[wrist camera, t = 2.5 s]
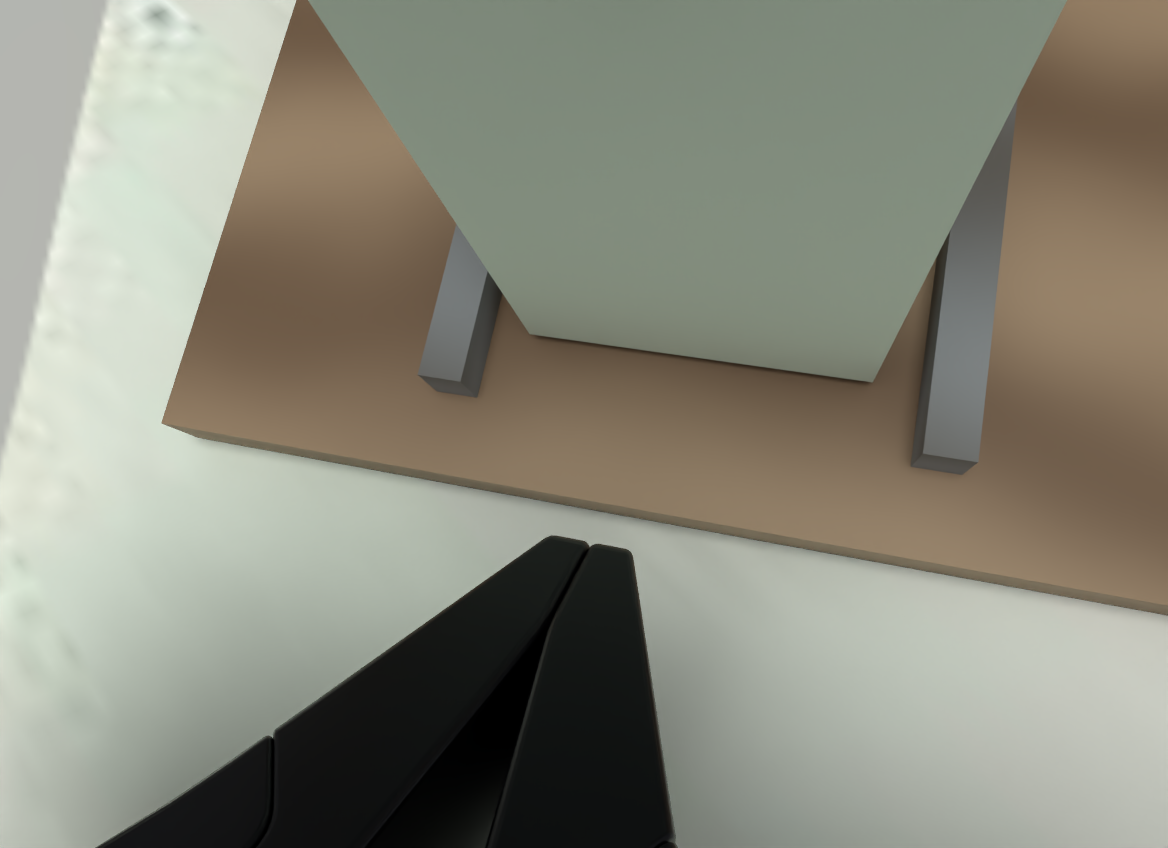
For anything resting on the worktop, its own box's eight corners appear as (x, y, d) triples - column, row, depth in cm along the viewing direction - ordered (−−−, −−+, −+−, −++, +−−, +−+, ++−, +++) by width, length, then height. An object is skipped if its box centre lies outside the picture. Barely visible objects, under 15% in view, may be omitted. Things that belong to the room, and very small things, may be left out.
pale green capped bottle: (869, 407, 14) (1760, -1214, 2) (524, 357, 16) (-331, -805, 3) (901, 170, 15) (1638, -1976, 3) (574, 140, 16) (72, -1416, 4)
